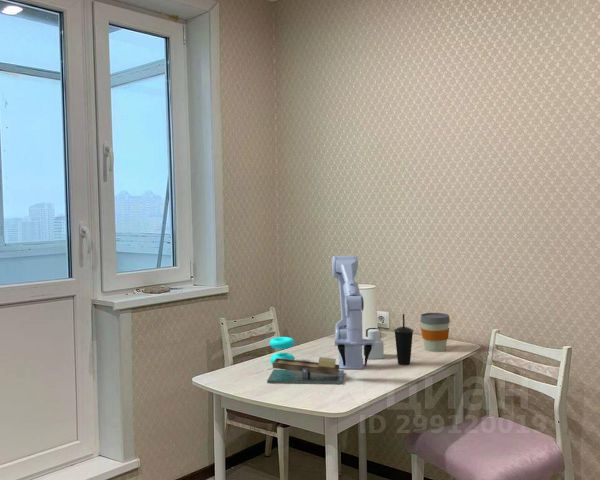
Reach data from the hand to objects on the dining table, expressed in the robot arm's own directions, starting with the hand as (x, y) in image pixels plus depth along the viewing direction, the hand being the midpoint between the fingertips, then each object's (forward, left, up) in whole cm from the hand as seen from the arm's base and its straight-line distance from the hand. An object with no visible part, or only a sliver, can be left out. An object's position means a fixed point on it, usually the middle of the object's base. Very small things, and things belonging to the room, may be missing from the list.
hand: (355, 365), depth 208 cm
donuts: (+30, -20, -5) cm, 36 cm away
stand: (+18, 0, -5) cm, 19 cm away
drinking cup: (-19, -21, -5) cm, 29 cm away
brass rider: (+10, 0, -1) cm, 10 cm away
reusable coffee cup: (-34, -45, -5) cm, 57 cm away
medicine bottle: (-7, -31, -5) cm, 32 cm away
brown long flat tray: (+18, 0, -1) cm, 18 cm away
